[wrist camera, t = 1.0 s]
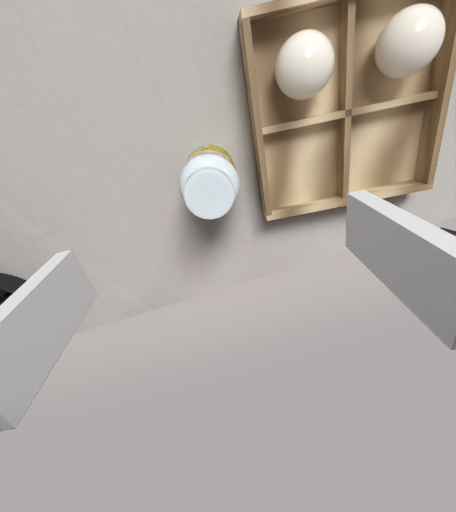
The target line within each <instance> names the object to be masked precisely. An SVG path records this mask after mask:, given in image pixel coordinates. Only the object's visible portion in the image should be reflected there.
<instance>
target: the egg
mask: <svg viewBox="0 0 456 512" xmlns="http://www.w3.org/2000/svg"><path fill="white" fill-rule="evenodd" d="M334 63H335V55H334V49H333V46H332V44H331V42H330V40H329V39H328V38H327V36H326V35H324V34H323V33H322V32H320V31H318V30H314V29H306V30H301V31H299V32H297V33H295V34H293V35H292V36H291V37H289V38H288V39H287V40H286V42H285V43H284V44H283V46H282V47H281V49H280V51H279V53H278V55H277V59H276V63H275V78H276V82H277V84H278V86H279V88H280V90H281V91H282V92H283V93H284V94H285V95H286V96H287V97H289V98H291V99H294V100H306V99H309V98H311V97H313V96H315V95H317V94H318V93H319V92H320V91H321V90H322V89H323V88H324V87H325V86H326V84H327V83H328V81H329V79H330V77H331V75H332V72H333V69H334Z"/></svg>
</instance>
